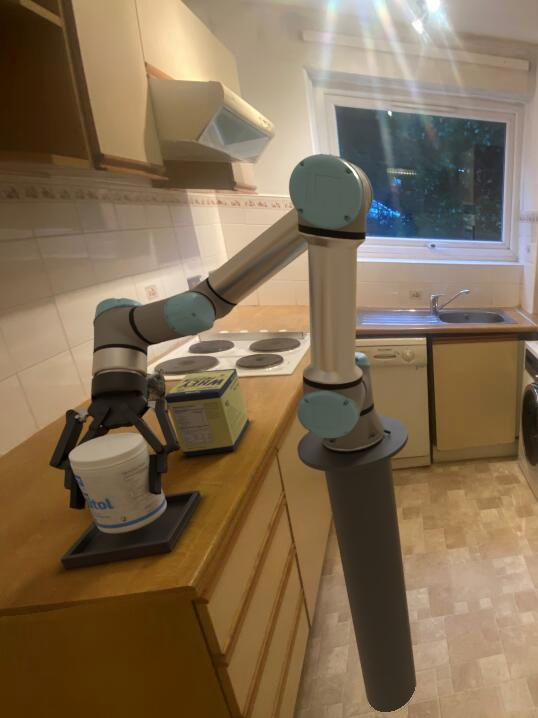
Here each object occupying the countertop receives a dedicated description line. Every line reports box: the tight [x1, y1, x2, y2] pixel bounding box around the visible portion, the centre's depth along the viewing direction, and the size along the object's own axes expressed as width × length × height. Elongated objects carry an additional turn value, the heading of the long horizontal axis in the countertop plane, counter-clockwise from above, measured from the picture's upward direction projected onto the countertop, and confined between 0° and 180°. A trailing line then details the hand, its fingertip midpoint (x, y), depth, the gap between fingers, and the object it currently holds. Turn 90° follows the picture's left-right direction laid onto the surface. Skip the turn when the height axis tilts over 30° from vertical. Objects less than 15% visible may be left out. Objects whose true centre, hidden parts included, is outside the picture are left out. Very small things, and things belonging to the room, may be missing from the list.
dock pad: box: [60, 489, 203, 570], centre depth 77 cm, size 15×15×2 cm
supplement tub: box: [69, 431, 167, 533], centre depth 74 cm, size 10×10×15 cm
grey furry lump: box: [146, 368, 167, 400], centre depth 130 cm, size 12×11×15 cm
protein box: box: [164, 368, 250, 458], centre depth 104 cm, size 10×16×16 cm
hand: (117, 500), depth 72 cm, fingers closed on supplement tub, 10 cm apart
